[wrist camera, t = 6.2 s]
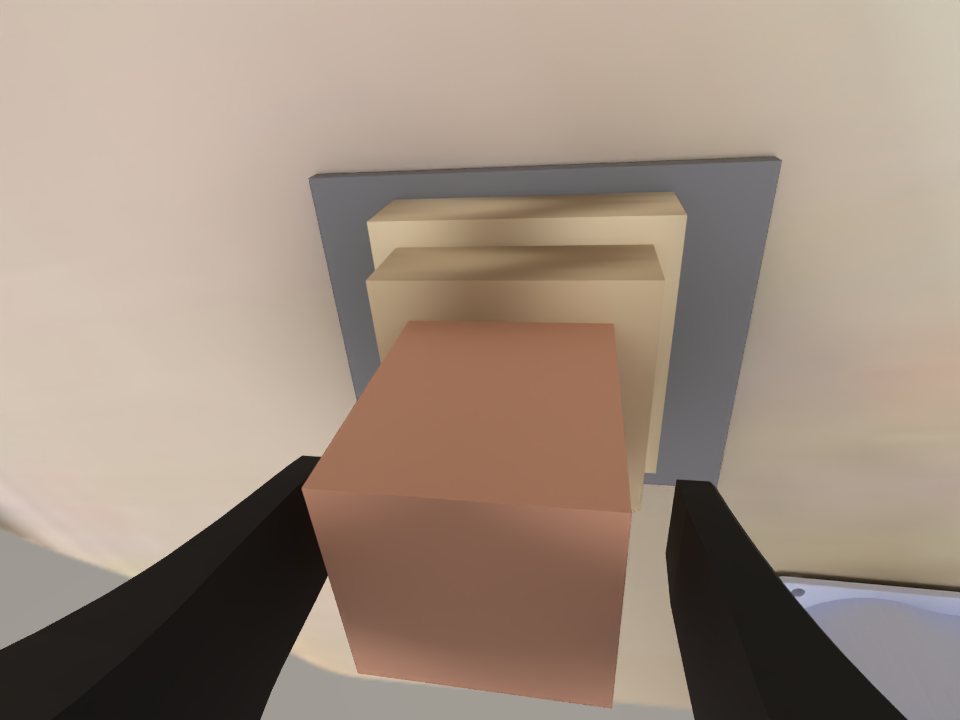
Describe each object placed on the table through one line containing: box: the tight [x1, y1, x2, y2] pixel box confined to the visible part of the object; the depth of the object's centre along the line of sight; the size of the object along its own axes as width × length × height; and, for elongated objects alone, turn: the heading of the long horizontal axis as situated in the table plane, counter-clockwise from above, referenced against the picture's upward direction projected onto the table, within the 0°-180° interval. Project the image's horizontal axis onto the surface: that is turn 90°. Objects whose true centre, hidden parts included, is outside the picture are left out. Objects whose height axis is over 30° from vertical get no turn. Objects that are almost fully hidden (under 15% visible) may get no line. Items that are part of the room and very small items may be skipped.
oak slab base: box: [367, 192, 687, 473], centre depth 18 cm, size 8×8×2 cm
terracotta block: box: [302, 320, 632, 708], centre depth 12 cm, size 5×5×6 cm
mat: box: [308, 157, 782, 488], centre depth 19 cm, size 14×12×1 cm
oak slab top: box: [366, 244, 665, 511], centre depth 15 cm, size 7×7×2 cm
